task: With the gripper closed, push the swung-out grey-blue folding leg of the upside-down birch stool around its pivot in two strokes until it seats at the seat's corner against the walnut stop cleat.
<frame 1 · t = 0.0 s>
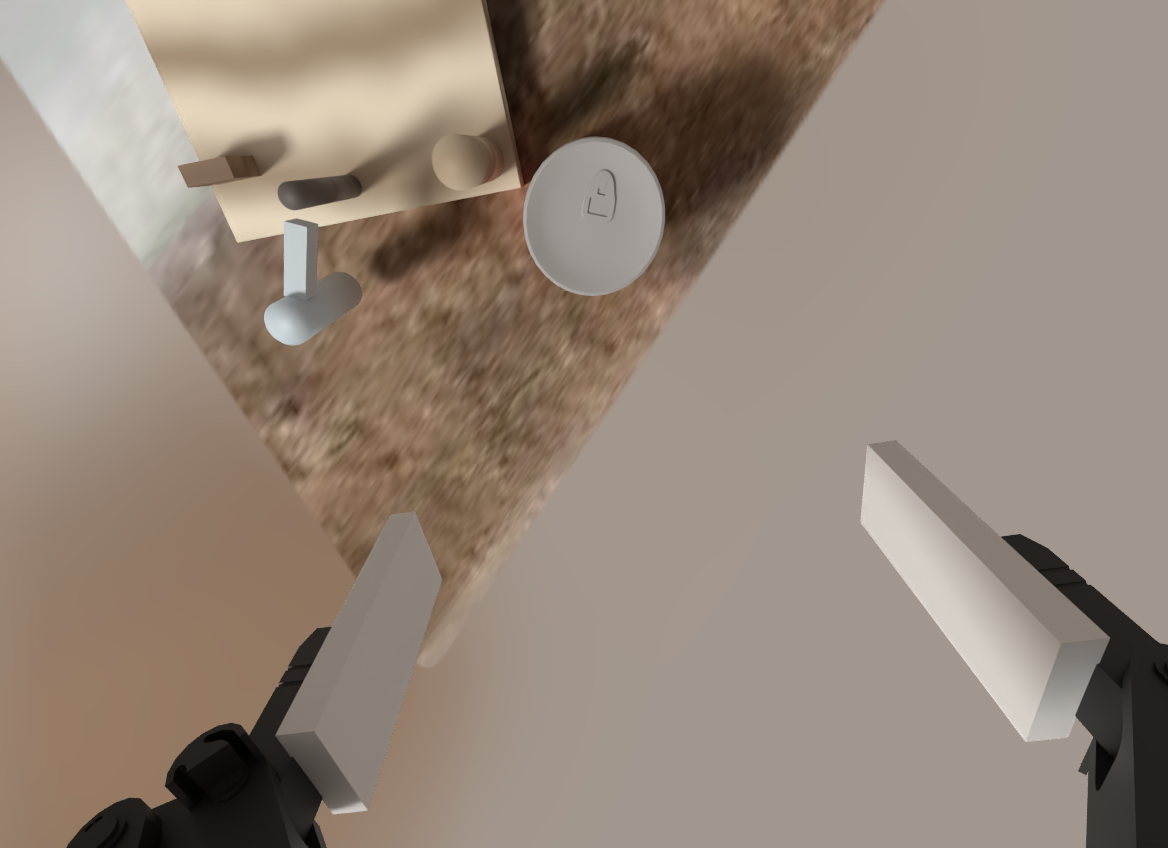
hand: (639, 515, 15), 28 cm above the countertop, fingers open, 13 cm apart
canned food: (590, 202, 38), on the countertop
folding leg: (319, 273, 33), point 7 cm above the countertop, hinge at 65.0°
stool: (333, 43, 33), on the countertop
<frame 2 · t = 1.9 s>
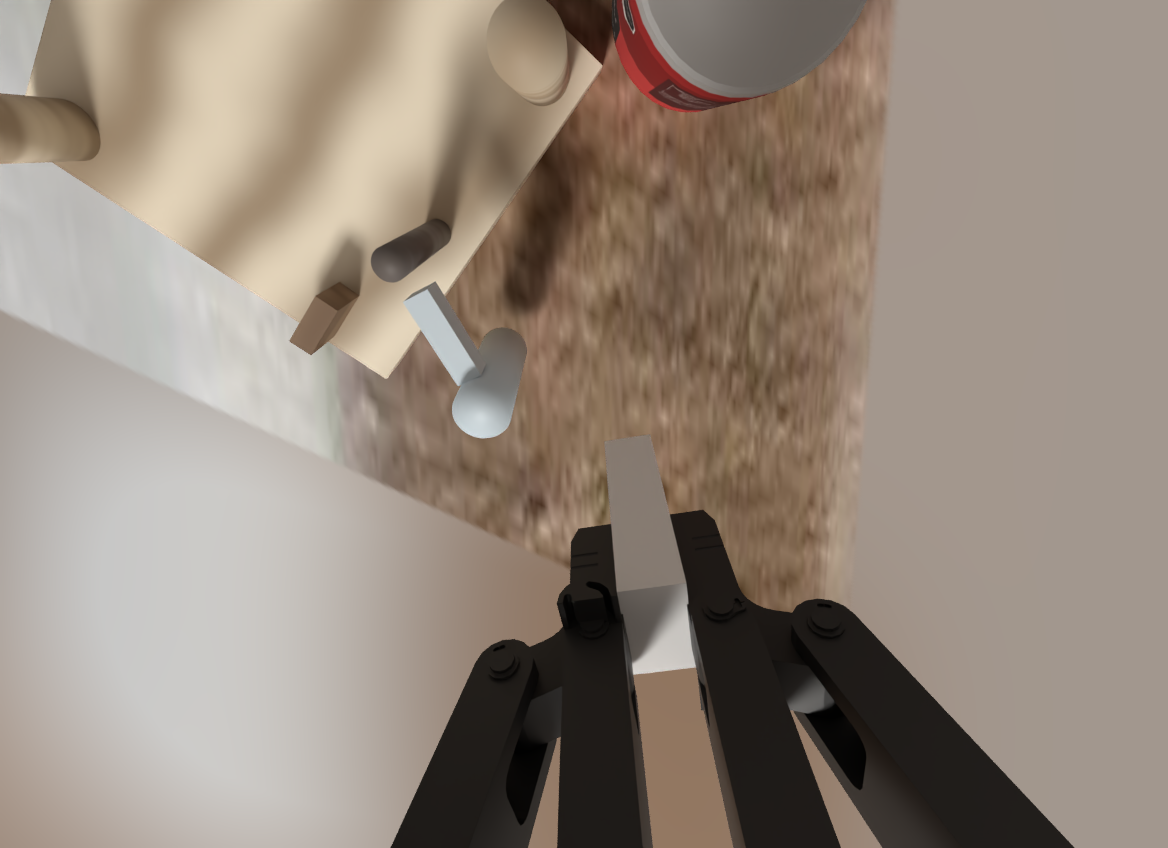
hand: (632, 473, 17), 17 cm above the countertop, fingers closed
canned food: (689, 19, 25), on the countertop
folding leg: (472, 341, 26), point 7 cm above the countertop, hinge at 65.0°
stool: (324, 105, 27), on the countertop
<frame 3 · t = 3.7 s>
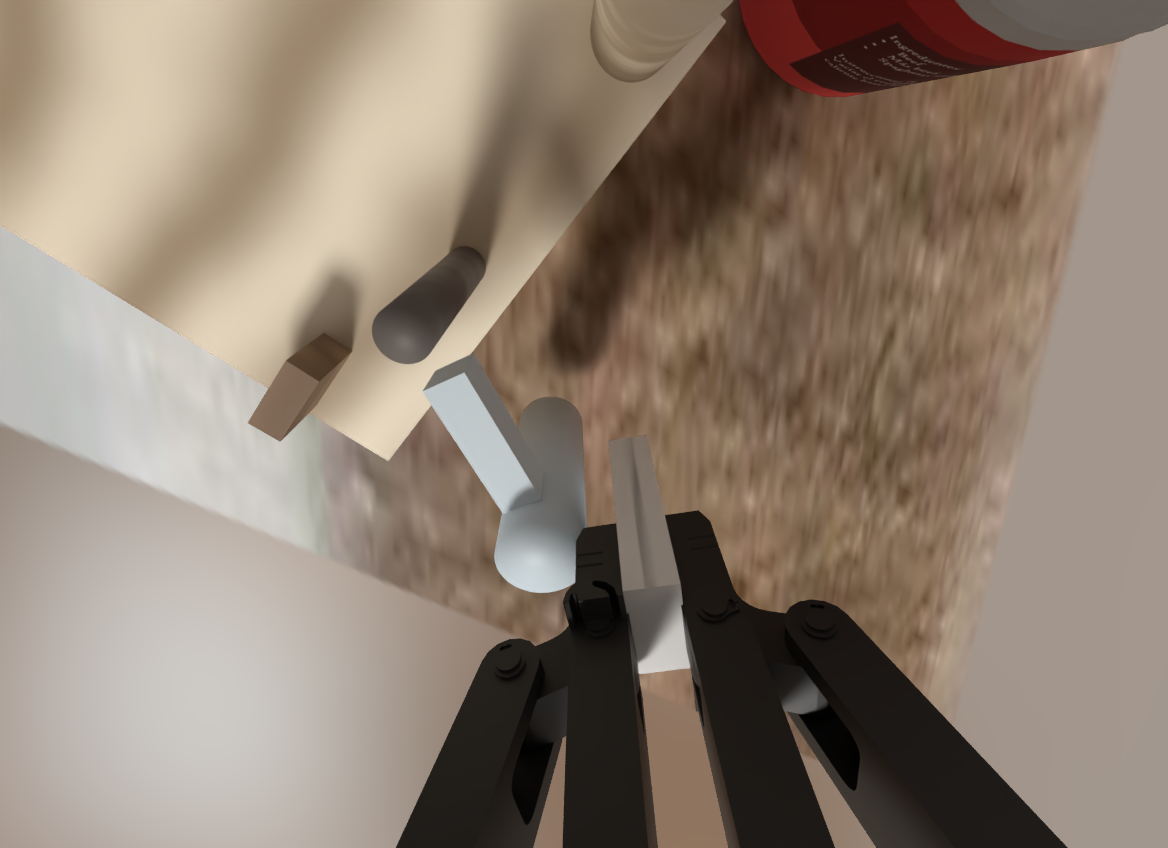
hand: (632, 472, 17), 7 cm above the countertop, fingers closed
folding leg: (518, 430, 17), point 7 cm above the countertop, hinge at 64.2°, touching gripper
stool: (303, 81, 18), on the countertop
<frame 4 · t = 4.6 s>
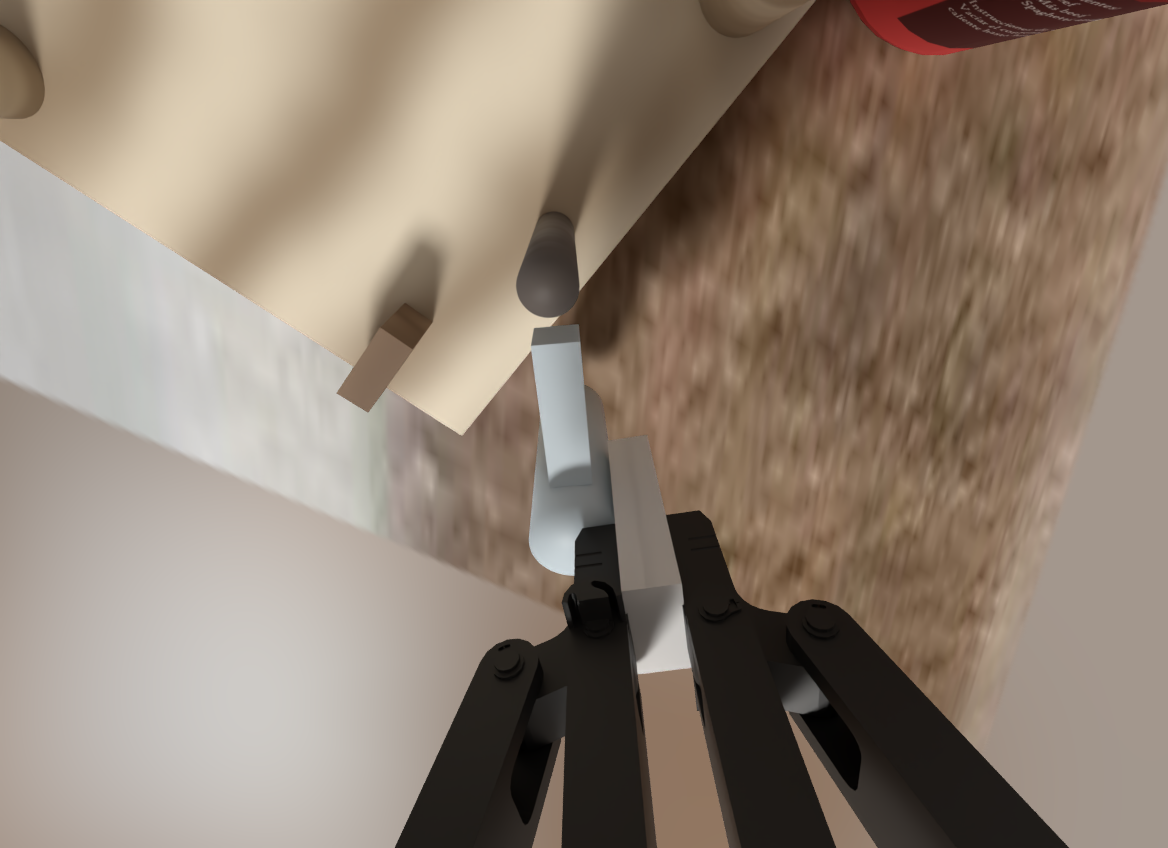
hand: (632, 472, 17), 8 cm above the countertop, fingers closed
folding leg: (568, 409, 17), point 7 cm above the countertop, hinge at 44.0°, touching gripper
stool: (389, 41, 18), on the countertop
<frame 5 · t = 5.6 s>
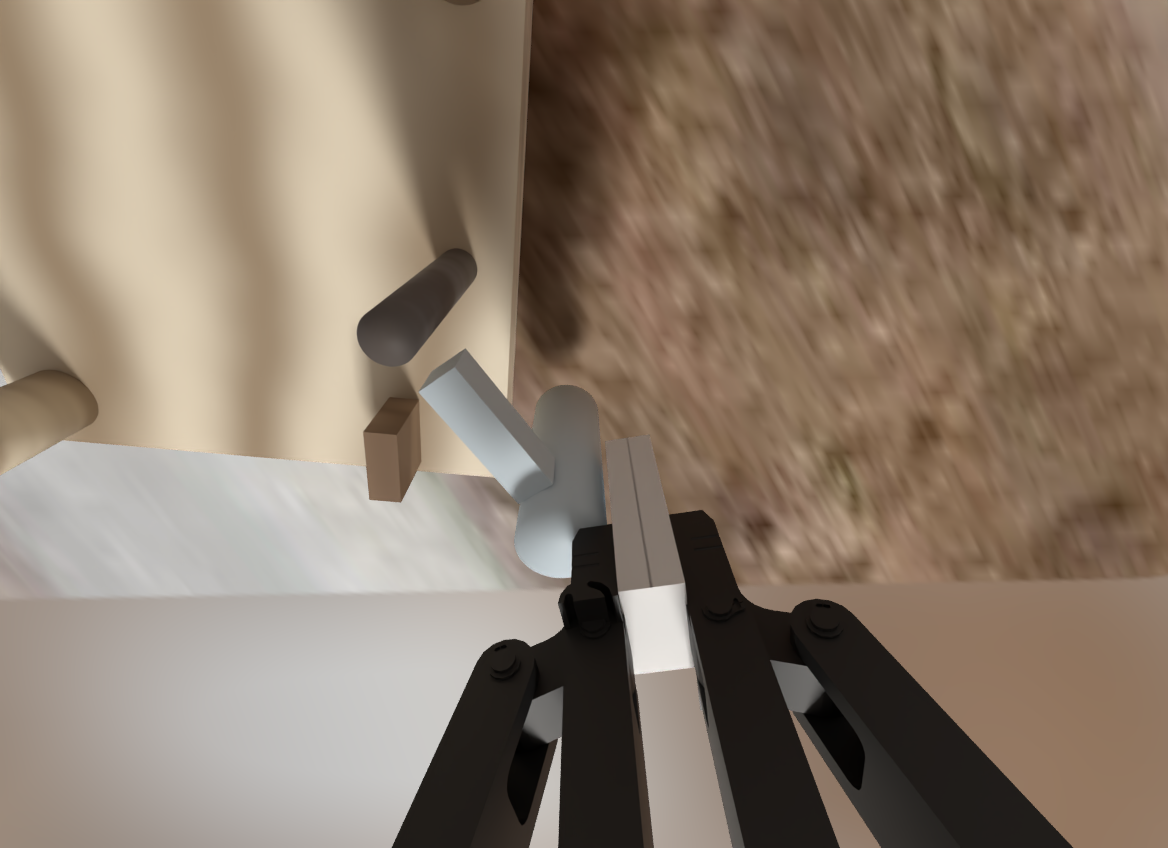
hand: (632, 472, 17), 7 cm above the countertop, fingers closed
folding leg: (528, 421, 17), point 7 cm above the countertop, hinge at 40.0°
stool: (264, 206, 20), on the countertop
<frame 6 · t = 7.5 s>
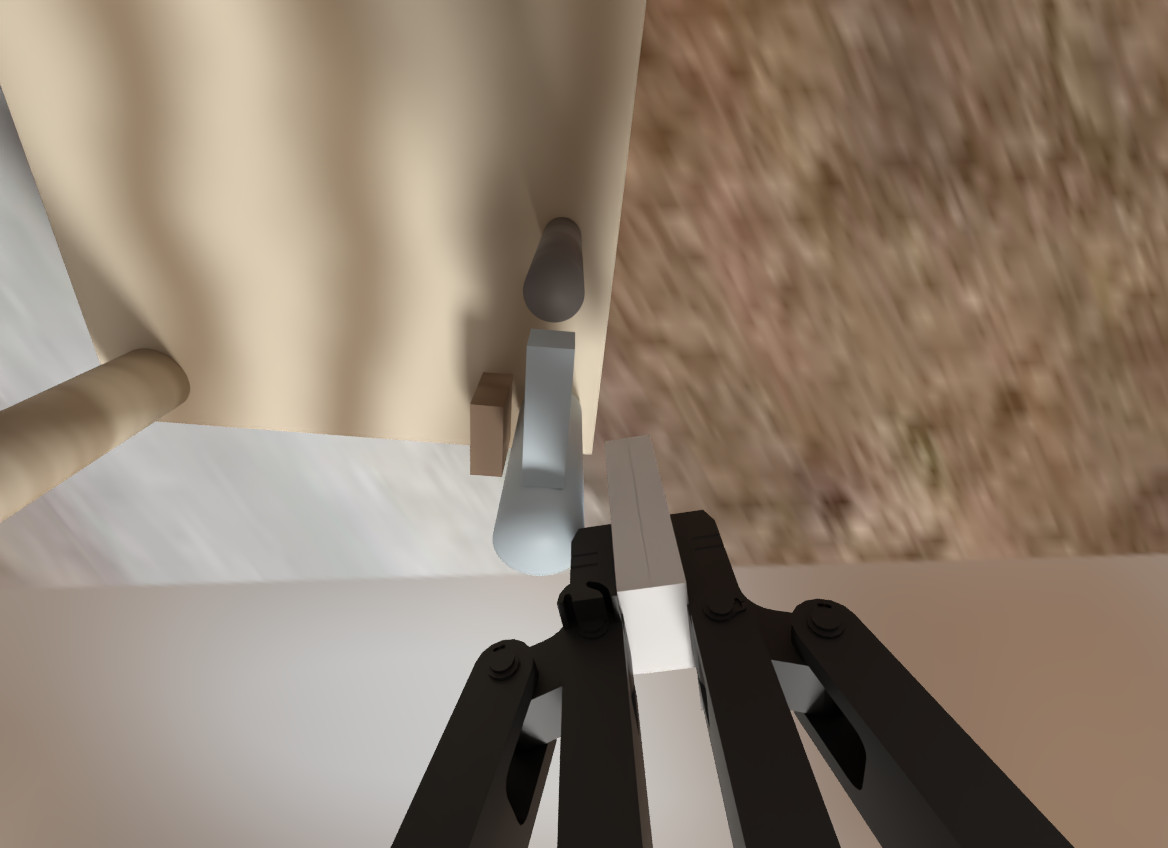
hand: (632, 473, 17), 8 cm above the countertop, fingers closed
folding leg: (549, 412, 17), point 7 cm above the countertop, hinge at 0.6°
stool: (358, 180, 20), on the countertop
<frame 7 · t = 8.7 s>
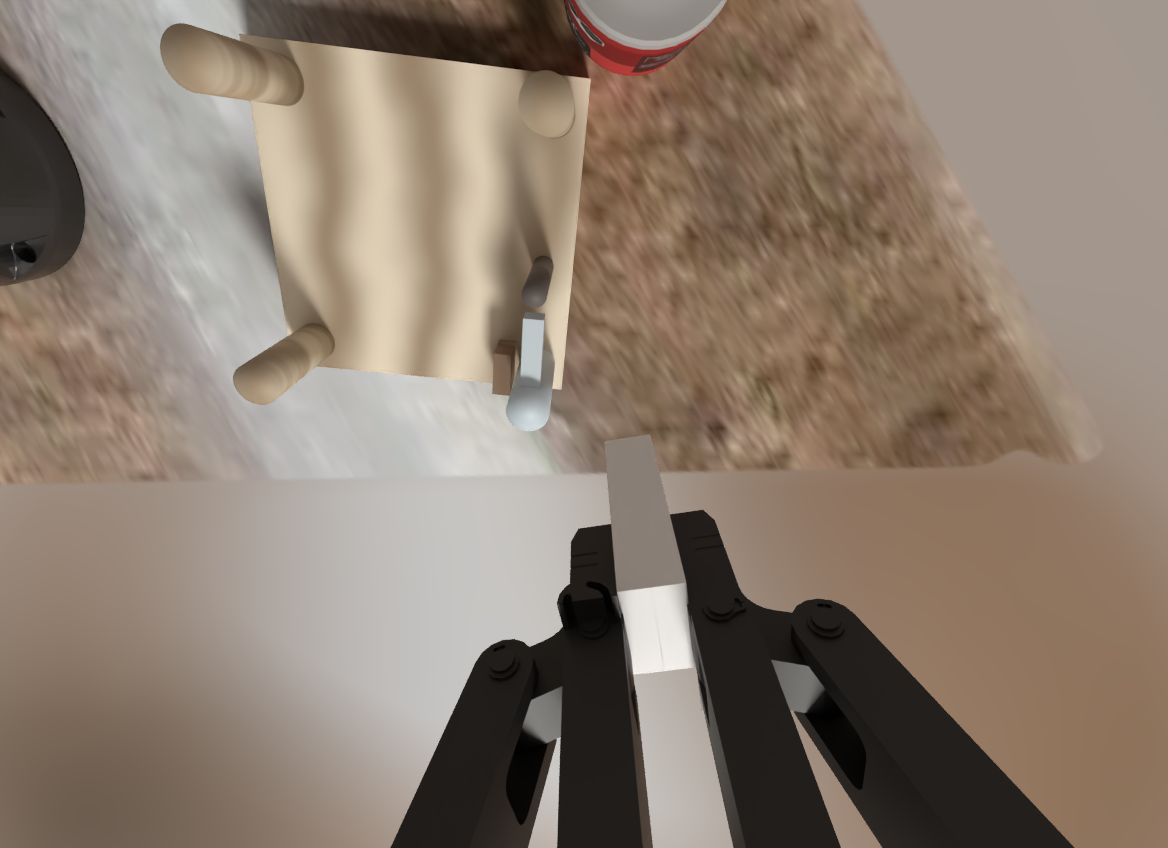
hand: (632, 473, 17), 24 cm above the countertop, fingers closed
canned food: (630, 1, 31), on the countertop
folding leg: (534, 356, 34), point 7 cm above the countertop, hinge at 0.6°
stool: (433, 232, 37), on the countertop
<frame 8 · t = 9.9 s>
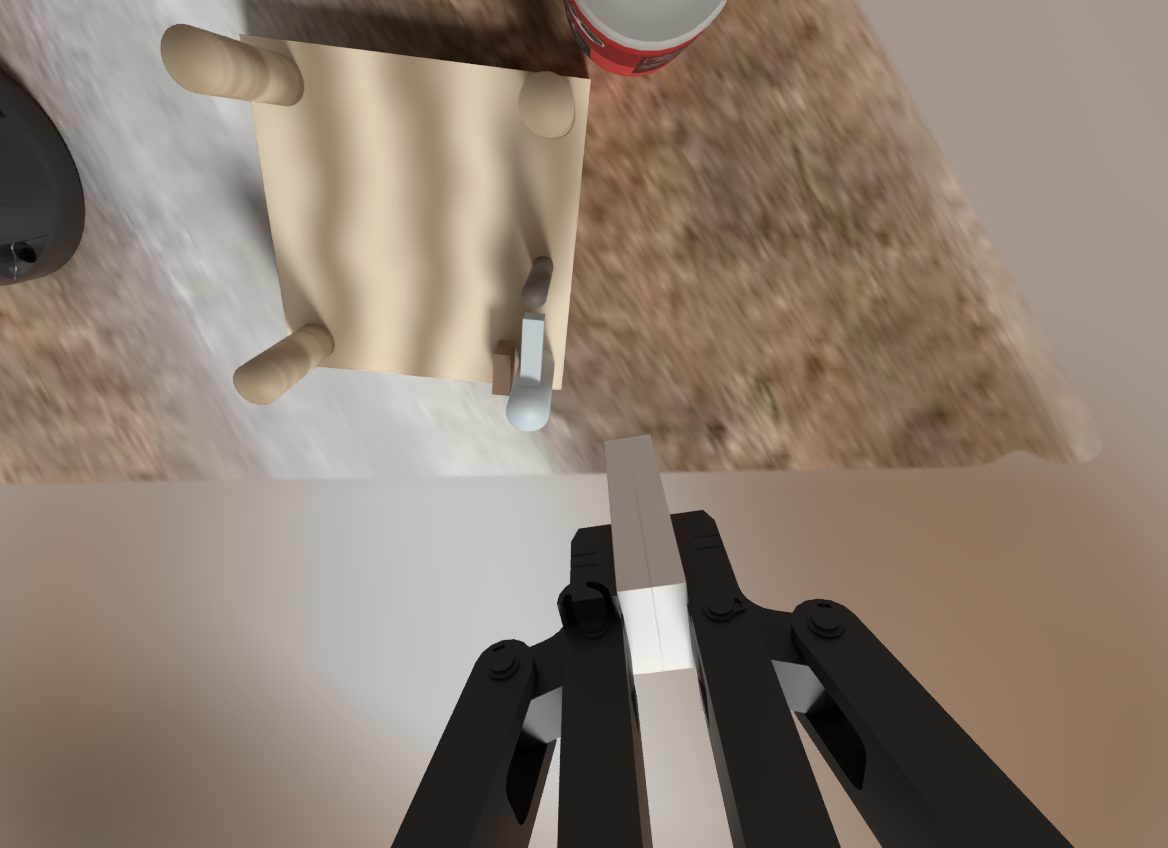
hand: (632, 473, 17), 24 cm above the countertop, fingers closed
canned food: (630, 2, 31), on the countertop
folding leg: (534, 356, 34), point 7 cm above the countertop, hinge at 0.6°
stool: (433, 233, 37), on the countertop
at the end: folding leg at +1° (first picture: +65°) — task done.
